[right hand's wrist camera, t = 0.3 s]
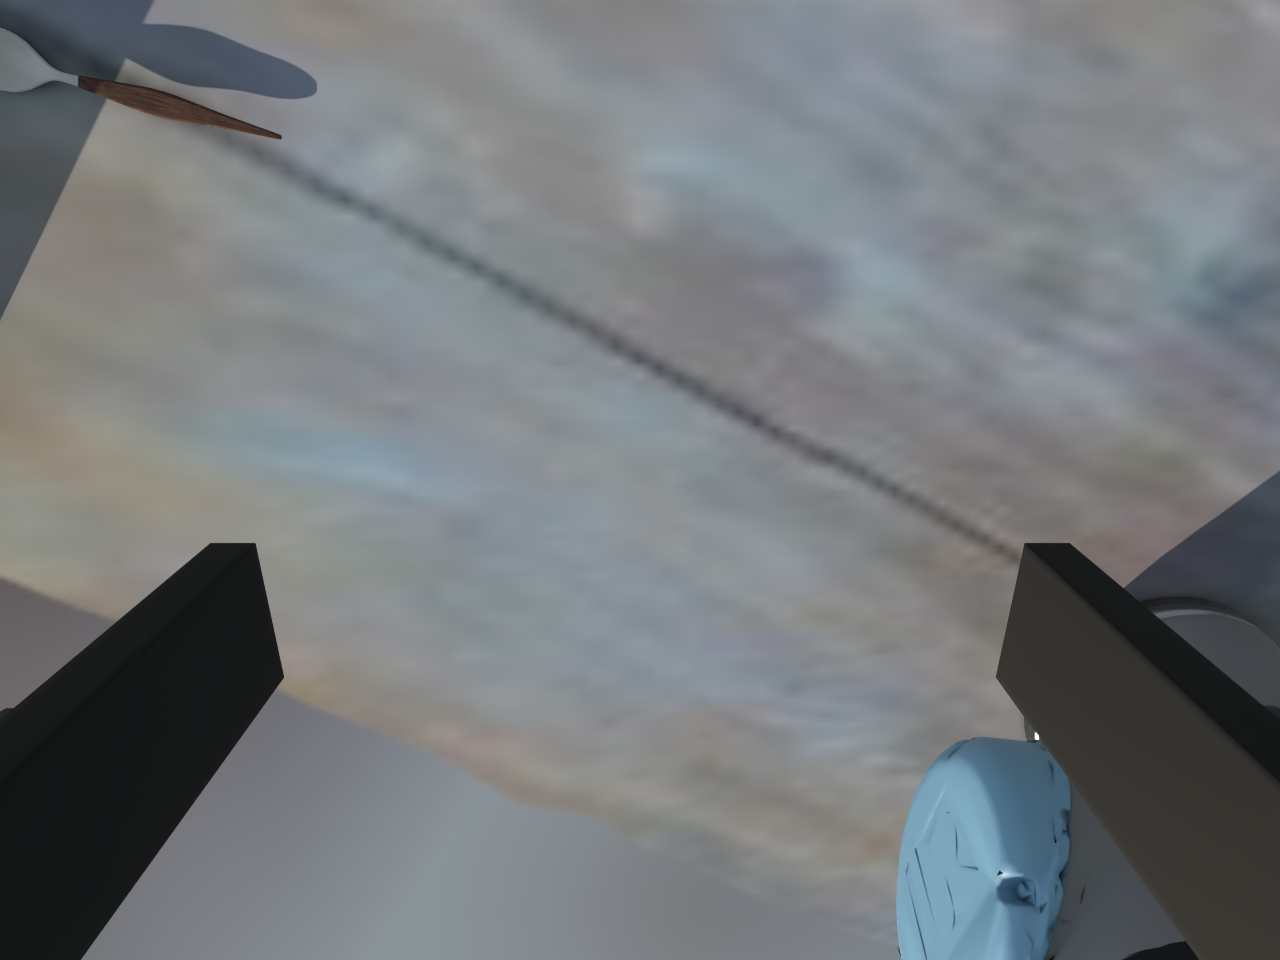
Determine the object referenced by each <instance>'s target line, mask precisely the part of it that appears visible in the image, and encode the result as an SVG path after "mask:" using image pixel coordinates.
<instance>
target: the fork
mask: <svg viewBox="0 0 1280 960" xmlns="http://www.w3.org/2000/svg"><path fill="white" fill-rule="evenodd" d="M50 81H62V82H66V83H69V84H72V85H74V86H77V87H80V88H82V89H85V90H87V91H90V92H92V93H95V94H97V95H100V96H102V97H105V98H107V99H110V100H112V101H115V102H117V103H120V104H123V105H125V106H128V107H130V108H133V109H136V110H138V111H141V112H144V113H147V114H150V115H154V116H157V117H161V118H166V119H171V120H176V121H182V122H188V123H194V124H200V125H206V126H213V127H218V128H224V129H230V130H235V131H240V132H245V133H250V134H255V135H260V136H265V137H270V138H275V139H281V138H282V136H281V135H279V134H276V133H274V132H271V131H268V130H266V129H263V128H260V127H257V126H254V125H252V124H249V123H246V122H243V121H241V120H238V119H235V118H232V117H230V116H227V115H224V114H222V113H219V112H216V111H214V110H211V109H209V108H206V107H204V106H201V105H199V104H196V103H194V102H191V101H188V100H186V99H183V98H181V97H178V96H175V95H172V94H169V93H166V92H163V91H160V90H156V89H152V88H147V87H142V86H137V85H132V84H126V83H120V82H114V81H108V80H101V79H95V78H89V77H83V76H77V75H72V74H68V73H64V72H61V71H58V70H56V69H55V68H53V67H52V66H51V65H49V64H48V63H47V62H46V61H45V60H44V59H43V58H42V57H41V56H40V55H39V54H38V53H37V52H36V51H35V50H34V49H33V48H32V47H31V46H30V45H29V44H28V43H27V42H26V41H24V40H23V39H22V38H21V37H19V36H18V35H16V34H14V33H12V32H10V31H8V30H6V29H3V28H0V90H3V91H8V92H24V91H28V90H31V89H34V88H36V87H38V86H40V85H42V84H44V83H47V82H50Z"/></svg>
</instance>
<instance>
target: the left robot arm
mask: <svg viewBox="0 0 1280 960" xmlns="http://www.w3.org/2000/svg"><path fill="white" fill-rule="evenodd" d="M1141 604H1143V605H1144V606H1145V607H1146V608H1147V609H1149V610H1150V611H1151V612H1152V613H1153V614H1155V615H1156V616H1157V617H1158V618H1159V619H1160V620H1162V621H1163V622H1164V623H1165V624H1166V625H1168V626H1169V627H1170V628H1171V629H1172V630H1174V631H1175V632H1176V633H1177V634H1178V635H1180V636H1181V637H1182V638H1183V639H1184V640H1186V641H1187V642H1188V643H1189V644H1190V645H1191V646H1193V647H1194V648H1195V649H1196V650H1197V651H1199V652H1200V653H1201V654H1202V655H1203V656H1205V657H1206V658H1207V659H1208V660H1209V661H1211V662H1212V663H1213V664H1214V665H1215V666H1217V667H1218V668H1219V669H1220V670H1221V671H1222V672H1224V673H1225V674H1226V675H1227V676H1228V677H1230V678H1231V679H1232V680H1233V681H1234V682H1236V683H1237V684H1238V685H1239V686H1240V687H1242V688H1243V689H1244V690H1245V691H1246V692H1248V693H1249V694H1250V695H1251V696H1252V697H1253V698H1255V699H1256V700H1257V701H1258V702H1259V703H1261V704H1262V705H1263V706H1276V707H1278V708H1280V647H1279V645H1278V644H1277V643H1276V642H1275V641H1274V640H1273V639H1272V638H1271V637H1270V636H1268V635H1267V634H1266V633H1265V632H1263V631H1262V630H1261V629H1259V628H1258V627H1256V626H1255V625H1254V624H1252V623H1251V622H1250V621H1248V620H1247V619H1245V618H1244V617H1243V616H1241V615H1239V614H1238V613H1236V612H1235V611H1233V610H1231V609H1229V608H1226V607H1224V606H1221V605H1218V604H1216V603H1212V602H1208V601H1204V600H1197V599H1186V598H1170V599H1159V600H1152V601H1147V602H1142V603H1141ZM1024 725H1025V733H1026V738H1027V741H1018V740H1009V739H999V738H990V737H977V738H972V739H970V740H963V741H960V742H958V743H956V744H954V745H952V746H951V747H949V748H948V749H946V750H945V751H944V752H943V753H942V754H941V755H940V756H939V757H938V758H937V759H936V760H935V761H934V762H933V764H932V765H931V766H930V768H929V769H928V771H927V772H926V774H925V776H924V777H923V779H922V781H921V783H920V785H919V787H918V789H917V791H916V794H915V796H914V799H913V802H912V804H911V807H910V811H909V814H908V817H907V821H906V825H905V829H904V833H903V838H902V843H901V850H900V858H899V869H898V877H897V927H898V937H899V945H900V949H898V951H899V954H900V956H901V958H902V960H1199V959H1198V957H1197V956H1196V955H1195V953H1194V952H1193V950H1192V949H1191V948H1190V946H1189V945H1188V943H1187V942H1186V941H1185V939H1184V938H1183V936H1182V935H1181V934H1180V932H1179V931H1178V930H1177V928H1176V927H1175V925H1174V924H1173V923H1172V921H1171V920H1170V918H1169V917H1168V916H1167V914H1166V913H1165V911H1164V910H1163V909H1162V907H1161V906H1160V905H1159V903H1158V902H1157V900H1156V899H1155V898H1154V896H1153V895H1152V893H1151V892H1150V891H1149V889H1148V888H1147V886H1146V885H1145V884H1144V882H1143V881H1142V880H1141V878H1140V877H1139V875H1138V874H1137V873H1136V871H1135V870H1134V868H1133V867H1132V866H1131V864H1130V863H1129V861H1128V860H1127V859H1126V857H1125V856H1124V855H1123V853H1122V852H1121V850H1120V849H1119V848H1118V846H1117V845H1116V843H1115V842H1114V841H1113V839H1112V838H1111V836H1110V835H1109V834H1108V832H1107V831H1106V830H1105V828H1104V827H1103V825H1102V824H1101V823H1100V821H1099V820H1098V818H1097V817H1096V816H1095V814H1094V813H1093V811H1092V810H1091V809H1090V807H1089V806H1088V805H1087V803H1086V802H1085V800H1084V799H1083V798H1082V796H1081V795H1080V793H1079V792H1078V791H1077V789H1076V788H1075V786H1074V785H1073V784H1072V782H1071V781H1070V780H1069V778H1068V777H1067V775H1066V774H1065V773H1064V771H1063V770H1062V768H1061V767H1060V766H1059V764H1058V763H1057V761H1056V760H1055V759H1054V757H1053V756H1052V755H1051V753H1050V752H1049V750H1048V749H1047V748H1046V746H1045V745H1044V743H1043V742H1042V741H1041V739H1040V738H1039V736H1038V735H1037V734H1036V732H1035V731H1034V730H1033V728H1032V727H1031V725H1030V724H1029V723H1028V721H1027V720H1026V718H1025V717H1024Z"/></svg>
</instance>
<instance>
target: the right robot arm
mask: <svg viewBox="0 0 1280 960" xmlns="http://www.w3.org/2000/svg"><path fill="white" fill-rule="evenodd" d="M283 678H284V675H283V670H282V665H281V661H280V656H279V651H278V646H277V642H276V637H275V632H274V628H273V623H272V618H271V614H270V609H269V604H268V600H267V595H266V590H265V586H264V581H263V576H262V572H261V567H260V562H259V558H258V553H257V548H256V544H255V543H210V544H209V545H208V546H207V547H205V548H204V549H203V550H202V551H201V552H199V553H198V554H197V555H196V556H195V557H193V558H192V559H191V560H190V561H189V562H187V563H186V564H185V565H184V566H183V567H182V568H180V569H179V570H178V571H177V572H176V573H174V574H173V575H172V576H171V577H170V578H168V579H167V580H166V581H165V582H164V583H162V584H161V585H160V586H159V587H158V588H156V589H155V590H154V591H153V592H152V593H151V594H149V595H148V596H147V597H146V598H145V599H143V600H142V601H141V602H140V603H139V604H137V605H136V606H135V607H134V608H133V609H131V610H130V611H129V612H128V613H127V614H125V615H124V616H123V617H122V618H121V619H120V620H118V621H117V622H116V623H115V624H114V625H112V626H111V627H110V628H109V629H108V630H106V631H105V632H104V633H103V634H102V635H100V636H99V637H98V638H97V639H96V640H94V641H93V642H92V643H91V644H90V645H89V646H87V647H86V648H85V649H84V650H83V651H81V652H80V653H79V654H78V655H77V656H75V657H74V658H73V659H72V660H71V661H69V662H68V663H67V664H66V665H65V666H63V667H62V668H61V669H60V670H59V671H58V672H56V673H55V674H54V675H53V676H52V677H50V678H49V679H48V680H47V681H46V682H44V683H43V684H42V685H41V686H40V687H38V688H37V689H36V690H35V691H34V692H32V693H31V694H30V695H29V696H28V697H27V698H25V699H24V700H23V701H22V702H21V703H19V704H18V705H17V706H16V707H15V708H6V709H4V710H2V711H0V960H81V959H82V957H83V956H84V955H85V953H86V952H87V950H88V949H89V948H90V946H91V945H92V943H93V942H94V941H95V939H96V938H97V936H98V935H99V934H100V932H101V931H102V930H103V928H104V927H105V925H106V924H107V923H108V921H109V920H110V918H111V917H112V916H113V914H114V913H115V911H116V910H117V909H118V907H119V906H120V905H121V903H122V902H123V900H124V899H125V897H126V896H127V895H128V893H129V892H130V891H131V889H132V888H133V886H134V885H135V884H136V882H137V881H138V879H139V878H140V877H141V875H142V874H143V873H144V871H145V870H146V868H147V867H148V866H149V864H150V863H151V861H152V860H153V859H154V857H155V856H156V854H157V853H158V852H159V850H160V849H161V848H162V846H163V845H164V843H165V842H166V841H167V839H168V838H169V836H170V835H171V834H172V832H173V831H174V830H175V828H176V827H177V825H178V824H179V823H180V821H181V820H182V818H183V817H184V816H185V814H186V813H187V811H188V810H189V809H190V807H191V806H192V805H193V803H194V802H195V800H196V799H197V797H198V796H199V795H200V793H201V792H202V791H203V789H204V788H205V786H206V785H207V784H208V782H209V781H210V780H211V778H212V777H213V775H214V774H215V773H216V771H217V770H218V768H219V767H220V766H221V764H222V763H223V761H224V760H225V759H226V757H227V756H228V755H229V753H230V752H231V750H232V749H233V748H234V746H235V745H236V743H237V742H238V741H239V739H240V738H241V736H242V735H243V734H244V732H245V731H246V730H247V728H248V727H249V725H250V724H251V723H252V721H253V720H254V718H255V717H256V716H257V714H258V713H259V711H260V710H261V709H262V707H263V706H264V704H265V703H266V702H267V700H268V699H269V698H270V696H271V695H272V693H273V692H274V691H275V689H276V688H277V686H278V685H279V684H280V682H281V681H282V680H283ZM996 678H997V680H998V681H999V682H1000V684H1001V685H1002V686H1003V688H1004V689H1005V691H1006V692H1007V693H1008V695H1009V696H1010V698H1011V699H1012V700H1013V702H1014V703H1015V705H1016V706H1017V707H1018V709H1019V710H1020V711H1021V713H1022V714H1023V716H1024V717H1025V718H1026V720H1027V721H1028V723H1029V724H1030V725H1031V727H1032V728H1033V730H1034V731H1035V732H1036V734H1037V735H1038V736H1039V738H1040V739H1041V741H1042V742H1043V743H1044V745H1045V746H1046V748H1047V749H1048V750H1049V752H1050V753H1051V755H1052V756H1053V757H1054V759H1055V760H1056V761H1057V763H1058V764H1059V766H1060V767H1061V768H1062V770H1063V771H1064V773H1065V774H1066V775H1067V777H1068V778H1069V780H1070V781H1071V782H1072V784H1073V785H1074V786H1075V788H1076V789H1077V791H1078V792H1079V793H1080V795H1081V796H1082V798H1083V799H1084V800H1085V802H1086V803H1087V805H1088V806H1089V807H1090V809H1091V810H1092V811H1093V813H1094V814H1095V816H1096V817H1097V818H1098V820H1099V821H1100V823H1101V824H1102V825H1103V827H1104V828H1105V830H1106V831H1107V832H1108V834H1109V835H1110V836H1111V838H1112V839H1113V841H1114V842H1115V843H1116V845H1117V846H1118V848H1119V849H1120V850H1121V852H1122V853H1123V855H1124V856H1125V857H1126V859H1127V860H1128V861H1129V863H1130V864H1131V866H1132V867H1133V868H1134V870H1135V871H1136V873H1137V874H1138V875H1139V877H1140V878H1141V880H1142V881H1143V882H1144V884H1145V885H1146V886H1147V888H1148V889H1149V891H1150V892H1151V893H1152V895H1153V896H1154V898H1155V899H1156V900H1157V902H1158V903H1159V905H1160V906H1161V907H1162V909H1163V910H1164V911H1165V913H1166V914H1167V916H1168V917H1169V918H1170V920H1171V921H1172V923H1173V924H1174V925H1175V927H1176V928H1177V930H1178V931H1179V932H1180V934H1181V935H1182V936H1183V938H1184V939H1185V941H1186V942H1187V943H1188V945H1189V946H1190V948H1191V949H1192V950H1193V952H1194V953H1195V955H1196V956H1197V957H1198V959H1199V960H1280V708H1278V707H1276V706H1263V705H1262V704H1261V703H1259V702H1258V701H1257V700H1256V699H1255V698H1253V697H1252V696H1251V695H1250V694H1249V693H1248V692H1246V691H1245V690H1244V689H1243V688H1242V687H1240V686H1239V685H1238V684H1237V683H1236V682H1234V681H1233V680H1232V679H1231V678H1230V677H1228V676H1227V675H1226V674H1225V673H1224V672H1222V671H1221V670H1220V669H1219V668H1218V667H1217V666H1215V665H1214V664H1213V663H1212V662H1211V661H1209V660H1208V659H1207V658H1206V657H1205V656H1203V655H1202V654H1201V653H1200V652H1199V651H1197V650H1196V649H1195V648H1194V647H1193V646H1191V645H1190V644H1189V643H1188V642H1187V641H1186V640H1184V639H1183V638H1182V637H1181V636H1180V635H1178V634H1177V633H1176V632H1175V631H1174V630H1172V629H1171V628H1170V627H1169V626H1168V625H1166V624H1165V623H1164V622H1163V621H1162V620H1160V619H1159V618H1158V617H1157V616H1156V615H1155V614H1153V613H1152V612H1151V611H1150V610H1149V609H1147V608H1146V607H1145V606H1144V605H1143V604H1141V603H1140V602H1139V601H1138V600H1137V599H1135V598H1134V597H1133V596H1132V595H1131V594H1129V593H1128V592H1127V591H1126V590H1125V589H1124V588H1122V587H1121V586H1120V585H1119V584H1118V583H1116V582H1115V581H1114V580H1113V579H1112V578H1110V577H1109V576H1108V575H1107V574H1106V573H1104V572H1103V571H1102V570H1101V569H1100V568H1098V567H1097V566H1096V565H1095V564H1094V563H1093V562H1091V561H1090V560H1089V559H1088V558H1087V557H1085V556H1084V555H1083V554H1082V553H1081V552H1079V551H1078V550H1077V549H1076V548H1075V547H1073V546H1072V545H1071V544H1070V543H1025V544H1024V548H1023V553H1022V558H1021V562H1020V567H1019V572H1018V576H1017V581H1016V586H1015V590H1014V595H1013V600H1012V604H1011V609H1010V614H1009V618H1008V623H1007V628H1006V632H1005V637H1004V642H1003V646H1002V651H1001V656H1000V661H999V665H998V670H997V675H996Z"/></svg>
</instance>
